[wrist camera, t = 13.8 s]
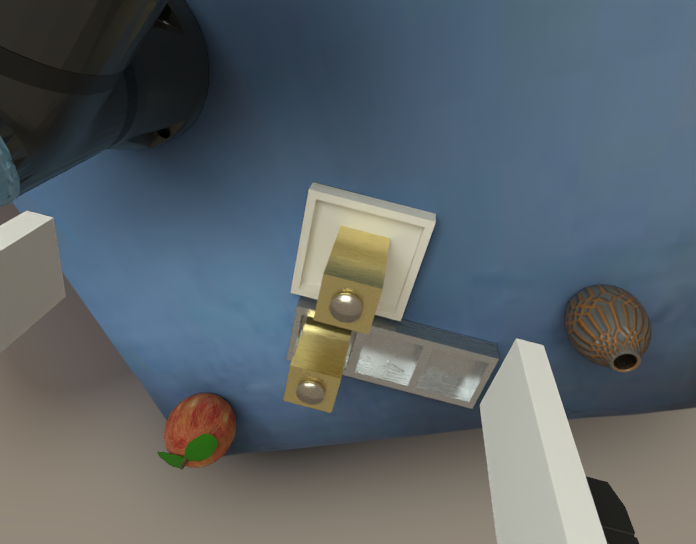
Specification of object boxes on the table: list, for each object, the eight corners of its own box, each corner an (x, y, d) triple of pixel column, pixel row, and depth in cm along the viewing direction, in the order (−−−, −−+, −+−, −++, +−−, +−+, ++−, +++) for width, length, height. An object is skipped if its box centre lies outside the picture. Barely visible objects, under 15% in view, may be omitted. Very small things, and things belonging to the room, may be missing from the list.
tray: (294, 283, 50) (290, 292, 49) (312, 182, 44) (308, 189, 42) (401, 311, 50) (400, 321, 49) (435, 213, 44) (435, 222, 42)
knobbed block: (340, 225, 45) (322, 277, 37) (390, 238, 45) (382, 293, 37) (331, 267, 48) (311, 324, 40) (377, 279, 48) (367, 339, 40)
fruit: (258, 418, 63) (232, 484, 55) (203, 430, 66) (170, 495, 58) (224, 373, 60) (191, 437, 51) (167, 389, 63) (127, 451, 54)
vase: (603, 338, 48) (635, 402, 41) (543, 315, 48) (565, 376, 41) (648, 288, 45) (692, 348, 37) (583, 263, 44) (614, 319, 37)
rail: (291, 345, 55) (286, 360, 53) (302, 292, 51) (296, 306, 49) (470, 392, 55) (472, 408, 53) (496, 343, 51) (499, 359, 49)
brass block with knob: (303, 342, 54) (281, 405, 46) (310, 309, 51) (288, 369, 43) (344, 352, 54) (330, 417, 46) (353, 320, 51) (340, 383, 43)
